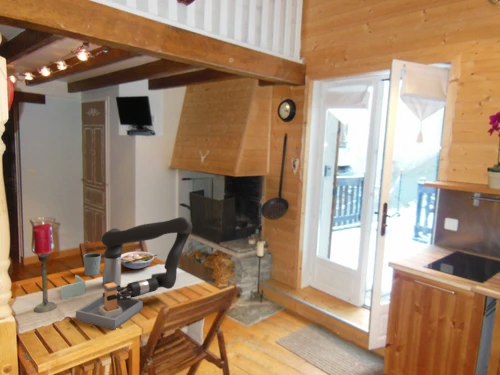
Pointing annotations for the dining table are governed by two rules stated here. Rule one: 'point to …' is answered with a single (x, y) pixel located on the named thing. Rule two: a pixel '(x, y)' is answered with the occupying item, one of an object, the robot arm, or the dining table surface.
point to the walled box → (109, 312)
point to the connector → (109, 290)
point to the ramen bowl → (136, 259)
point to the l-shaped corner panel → (73, 288)
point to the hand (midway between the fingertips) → (105, 296)
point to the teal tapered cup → (92, 264)
